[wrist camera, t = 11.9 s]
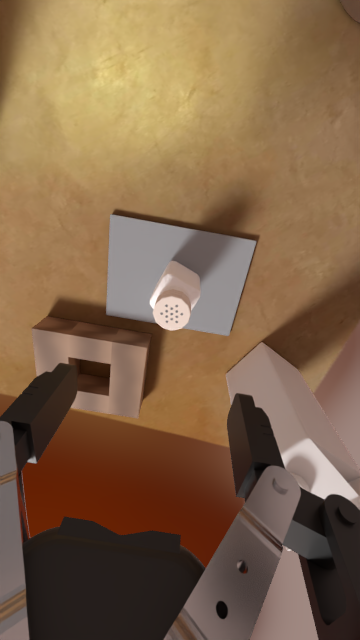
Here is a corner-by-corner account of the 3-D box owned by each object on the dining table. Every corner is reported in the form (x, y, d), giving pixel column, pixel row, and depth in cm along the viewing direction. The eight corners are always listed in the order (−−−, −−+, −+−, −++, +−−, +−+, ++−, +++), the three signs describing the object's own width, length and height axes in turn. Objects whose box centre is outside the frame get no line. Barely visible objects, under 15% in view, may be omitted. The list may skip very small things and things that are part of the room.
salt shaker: (171, 257, 28) (162, 282, 20) (201, 275, 29) (204, 306, 20) (155, 286, 30) (139, 320, 21) (183, 302, 30) (180, 342, 22)
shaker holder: (151, 334, 33) (147, 347, 30) (142, 400, 38) (138, 418, 35) (47, 316, 33) (31, 328, 30) (52, 385, 38) (39, 402, 35)
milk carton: (297, 368, 35) (400, 533, 17) (260, 398, 37) (317, 566, 20) (261, 340, 33) (335, 491, 16) (225, 373, 36) (254, 533, 18)
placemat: (255, 240, 27) (256, 241, 27) (228, 333, 33) (228, 335, 32) (111, 214, 27) (110, 214, 26) (107, 312, 32) (106, 314, 32)
